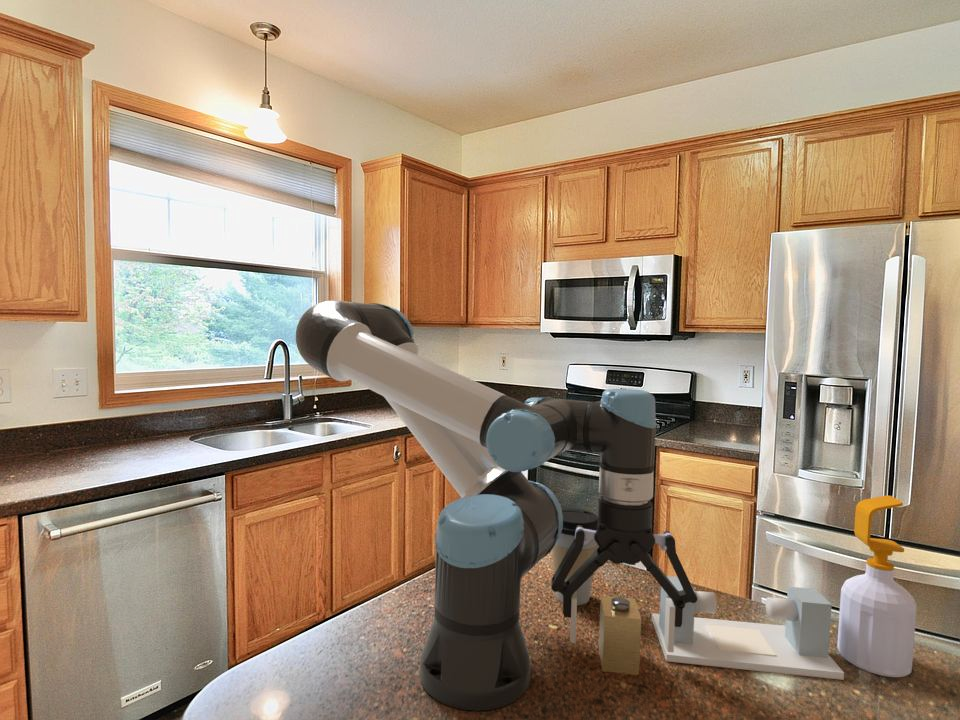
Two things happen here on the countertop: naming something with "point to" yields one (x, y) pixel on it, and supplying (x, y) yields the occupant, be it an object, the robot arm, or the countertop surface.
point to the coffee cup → (564, 542)
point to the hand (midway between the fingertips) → (620, 642)
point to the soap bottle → (877, 605)
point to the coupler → (619, 635)
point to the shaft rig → (755, 636)
